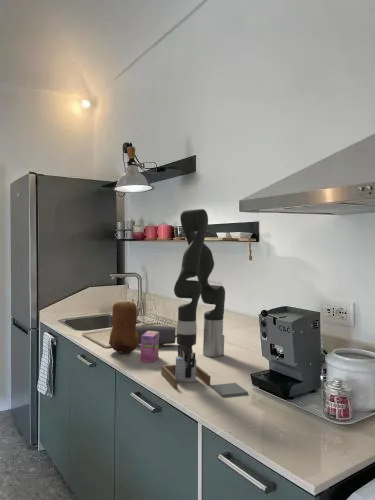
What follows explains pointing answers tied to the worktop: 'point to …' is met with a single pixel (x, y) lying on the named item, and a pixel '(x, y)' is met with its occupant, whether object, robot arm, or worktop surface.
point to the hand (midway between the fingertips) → (185, 375)
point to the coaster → (229, 389)
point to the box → (149, 346)
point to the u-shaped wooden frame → (168, 373)
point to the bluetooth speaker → (164, 333)
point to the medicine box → (181, 371)
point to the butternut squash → (124, 327)
